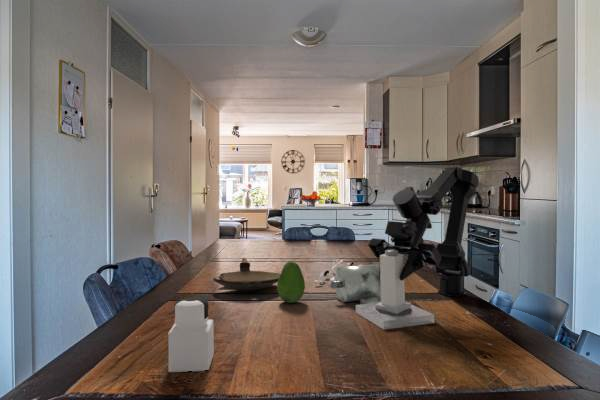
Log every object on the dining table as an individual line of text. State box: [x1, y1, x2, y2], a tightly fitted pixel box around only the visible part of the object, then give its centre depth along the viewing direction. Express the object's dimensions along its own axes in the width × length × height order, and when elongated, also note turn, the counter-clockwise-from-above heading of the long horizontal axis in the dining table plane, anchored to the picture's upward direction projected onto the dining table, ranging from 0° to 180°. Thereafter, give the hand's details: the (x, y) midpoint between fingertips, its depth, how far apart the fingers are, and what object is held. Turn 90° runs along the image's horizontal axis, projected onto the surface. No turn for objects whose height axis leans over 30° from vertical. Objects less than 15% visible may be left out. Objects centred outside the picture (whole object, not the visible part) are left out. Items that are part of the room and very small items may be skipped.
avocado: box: [276, 260, 306, 304], centre depth 115 cm, size 8×8×12 cm
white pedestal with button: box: [375, 250, 412, 314], centre depth 100 cm, size 6×6×14 cm
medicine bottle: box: [167, 296, 215, 373], centre depth 74 cm, size 7×7×12 cm
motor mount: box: [330, 263, 435, 331], centre depth 108 cm, size 16×30×10 cm, turn 19°
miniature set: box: [314, 257, 361, 287], centre depth 149 cm, size 6×35×12 cm
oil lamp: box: [212, 257, 281, 292], centre depth 133 cm, size 22×30×8 cm
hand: (390, 277), depth 100 cm, fingers open, 6 cm apart
